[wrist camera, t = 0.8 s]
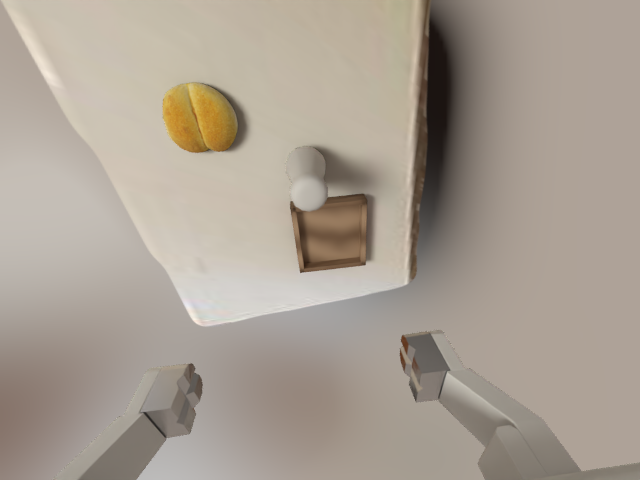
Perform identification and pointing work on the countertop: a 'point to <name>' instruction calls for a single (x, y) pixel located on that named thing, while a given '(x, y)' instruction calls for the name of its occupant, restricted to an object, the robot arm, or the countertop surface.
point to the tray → (331, 234)
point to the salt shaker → (307, 178)
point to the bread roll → (199, 118)
